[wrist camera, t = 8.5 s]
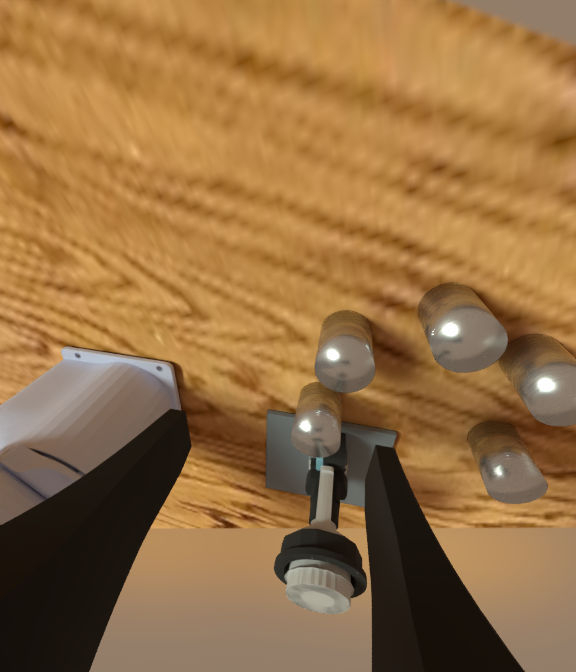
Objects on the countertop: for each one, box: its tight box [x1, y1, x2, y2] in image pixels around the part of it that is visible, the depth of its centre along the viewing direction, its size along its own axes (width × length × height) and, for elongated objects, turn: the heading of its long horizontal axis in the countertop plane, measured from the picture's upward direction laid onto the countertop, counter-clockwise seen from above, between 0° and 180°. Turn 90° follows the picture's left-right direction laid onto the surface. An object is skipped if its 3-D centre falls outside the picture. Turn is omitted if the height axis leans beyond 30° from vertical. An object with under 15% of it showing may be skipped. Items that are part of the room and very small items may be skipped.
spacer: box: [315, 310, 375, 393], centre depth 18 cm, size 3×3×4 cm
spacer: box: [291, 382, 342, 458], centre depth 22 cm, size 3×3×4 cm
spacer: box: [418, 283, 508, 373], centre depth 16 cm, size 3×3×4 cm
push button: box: [274, 433, 367, 614], centre depth 22 cm, size 7×5×10 cm
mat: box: [266, 410, 397, 507], centre depth 27 cm, size 10×10×1 cm
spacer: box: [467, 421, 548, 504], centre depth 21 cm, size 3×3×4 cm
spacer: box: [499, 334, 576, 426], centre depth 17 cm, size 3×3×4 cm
